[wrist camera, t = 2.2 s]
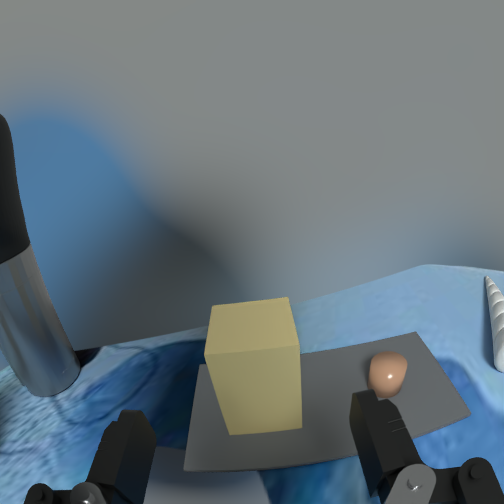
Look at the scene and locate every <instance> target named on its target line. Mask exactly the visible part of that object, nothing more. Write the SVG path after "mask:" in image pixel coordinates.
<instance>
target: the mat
mask: <svg viewBox="0 0 504 504" xmlns="http://www.w3.org/2000/svg"><path fill="white" fill-rule="evenodd" d="M385 351H392V352H396V353H399V354H401V355H402V356H404V358H405V359H406V361H407V369H406V373H405V377H404V381H403V384H402V388H401V390H400V392H399V393H398V394H397V395H395V396H393V397H391V398H379V397H377V398H378V400H383V399H389V400H390V401H391V402H392V403H393V404H394V405H396V406H397V408H398V410H399V412H400V414H401V416H402V420H403V421H404V423H405V425H406V428H407V429H408V432H409V434H410V436H411V438H412V439H414V438H417V437H419V436H422V435H425V434H428V433H430V432H433V431H436V430H438V429H441V428H443V427H446V426H448V425H450V424H453V423H455V422H457V421H460V420H462V419H464V418H466V417H468V416H470V415H471V412H470V410H469V409H468V407H467V405H466V404H465V402H464V401H463V399H462V398H461V396H460V394H459V393H458V391H457V390H456V388H455V387H454V385H453V384H452V382H451V381H450V379H449V378H448V376H447V375H446V373H445V372H444V370H443V369H442V368H441V366H440V365H439V363H438V362H437V360H436V359H435V357H434V356H433V355H432V353H431V352H430V350H429V349H428V348H427V346H426V345H425V343H424V342H423V341H422V339H421V338H420V336H419V335H418V334H417V332H412V333H408V334H404V335H400V336H396V337H391V338H387V339H382V340H378V341H373V342H368V343H363V344H358V345H353V346H348V347H342V348H337V349H331V350H325V351H319V352H313V353H306V354H300V368H301V397H302V428H299V429H291V430H284V431H275V432H265V433H254V434H240V435H229V432H228V429H227V426H226V423H225V420H224V417H223V414H222V411H221V408H220V405H219V402H218V399H217V396H216V393H215V389H214V386H213V383H212V380H211V376H210V373H209V370H208V366H207V364H201V365H200V366H199V372H198V378H197V384H196V390H195V396H194V402H193V409H192V415H191V421H190V428H189V434H188V441H187V448H186V455H185V462H184V469H183V470H184V471H186V472H237V471H256V470H269V469H279V468H287V467H295V466H302V465H309V464H315V463H321V462H326V461H332V460H337V459H342V458H346V457H351V456H355V455H358V452H357V449H356V446H355V442H354V439H353V436H352V432H351V429H350V423H349V415H350V408H351V400H352V394H353V393H354V392H359V391H363V390H368V387H367V383H368V377H369V371H370V365H371V360H372V358H373V357H374V356H375V355H377V354H378V353H381V352H385Z"/></svg>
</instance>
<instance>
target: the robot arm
mask: <svg viewBox="0 0 504 504" xmlns="http://www.w3.org/2000/svg"><path fill="white" fill-rule="evenodd" d="M0 349H1V351H2V353H3V355H4V356H5V358H6V360H7V361H8V363H9V365H10V366H11V368H12V370H13V371H14V373H15V374H16V376H17V378H18V379H19V381H20V382H21V384H22V385H24V386H26V387H27V389H28V390H29V392H30V393H31V394H33V395H35V396H39V397H47V396H52V395H55V394H57V393H59V392H61V391H63V390H65V389H66V388H67V387H69V386H70V385H71V384H72V383H73V382H74V380H75V379H76V377H77V376H78V374H79V371H80V362H79V360H78V358H77V356H76V354H75V352H74V350H73V348H72V346H71V344H70V342H69V340H68V337H67V335H66V333H65V331H64V329H63V327H62V325H61V322H60V320H59V318H58V316H57V313H56V311H55V309H54V306H53V304H52V302H51V299H50V297H49V294H48V292H47V289H46V286H45V284H44V281H43V279H42V276H41V273H40V270H39V267H38V265H37V262H36V259H35V256H34V252H33V249H32V246H31V244H30V240H29V237H28V233H27V229H26V224H25V218H24V214H23V209H22V205H21V200H20V195H19V190H18V184H17V177H16V168H15V159H14V150H13V143H12V137H11V132H10V129H9V126H8V123H7V121H6V120H5V118H4V117H3V116H2V115H1V114H0ZM349 423H350V429H351V432H352V436H353V439H354V442H355V446H356V449H357V452H358V456H359V459H360V463H361V466H362V469H363V473H364V476H365V480H366V483H367V487H368V491H369V494H370V498H372V497H376V496H379V498H380V502H381V504H504V494H503V492H502V489H501V487H500V485H499V482H498V480H497V477H496V475H495V473H494V471H493V468H492V466H491V464H490V463H489V462H488V461H487V460H485V459H483V458H479V457H475V458H471V459H469V460H467V461H466V462H464V464H463V465H462V466H461V467H454V468H446V469H434V468H431V467H429V466H427V465H426V464H424V463H423V462H422V460H421V459H420V457H419V454H418V452H417V450H416V447H415V445H414V443H413V441H412V438H411V436H410V434H409V432H408V429H407V428H406V425H405V423H404V421H403V420H402V416H401V414H400V412H399V410H398V408H397V406H396V405H394V404H393V403H392V402H391V401H390V400H389V399H383V400H378V398H377V396H376V393H375V391H374V390H373V389H368V390H363V391H359V392H354V393H353V394H352V400H351V408H350V415H349ZM155 448H156V435H155V432H154V430H153V429H152V427H151V425H150V424H149V422H148V420H147V419H146V417H145V415H144V413H143V412H142V411H140V410H122V411H121V413H120V415H119V418H118V421H112V422H111V423H110V425H109V426H108V427H107V428H106V429H105V430H104V433H103V436H102V438H101V442H100V444H99V446H98V450H97V452H96V454H95V457H94V460H93V463H92V465H91V468H90V471H89V474H88V477H87V479H86V481H85V482H82V483H79V484H77V485H76V486H75V487H74V488H73V489H72V490H52V489H51V488H50V487H49V486H47V485H46V484H43V483H38V484H35V485H33V486H32V487H31V488H30V489H29V490H28V493H27V495H26V498H25V501H24V504H143V502H144V497H145V492H146V487H147V483H148V478H149V473H150V470H151V465H152V461H153V456H154V452H155Z"/></svg>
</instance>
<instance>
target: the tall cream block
mask: <svg viewBox="0 0 504 504" xmlns="http://www.w3.org/2000/svg"><path fill="white" fill-rule="evenodd" d="M204 356H205V360H206V363H207V366H208V370H209V373H210V376H211V380H212V383H213V386H214V389H215V393H216V396H217V399H218V402H219V405H220V408H221V411H222V414H223V417H224V420H225V423H226V426H227V429H228V432H229V435H240V434H254V433H265V432H275V431H284V430H291V429H299V428H302V397H301V368H300V345H299V340H298V336H297V332H296V328H295V324H294V320H293V315H292V311H291V307H290V303H289V299H288V297H284V298H276V299H268V300H260V301H251V302H242V303H233V304H224V305H215V306H212V311H211V317H210V323H209V328H208V334H207V340H206V346H205V352H204Z"/></svg>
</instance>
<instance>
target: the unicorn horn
mask: <svg viewBox="0 0 504 504" xmlns="http://www.w3.org/2000/svg"><path fill="white" fill-rule="evenodd" d="M486 289H487V296H488V304H489V312H490V319H491V329H492V339H493V354H494V365H495V367H496V368H497V370H498V371H500V372H502V373H504V296H503V295H502V293H501V292H500V290H499V289H498V288H497V286H496V285H495V284H494V282H493V281H492V280H491V279H490V278H489V277H488V276H486Z"/></svg>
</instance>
